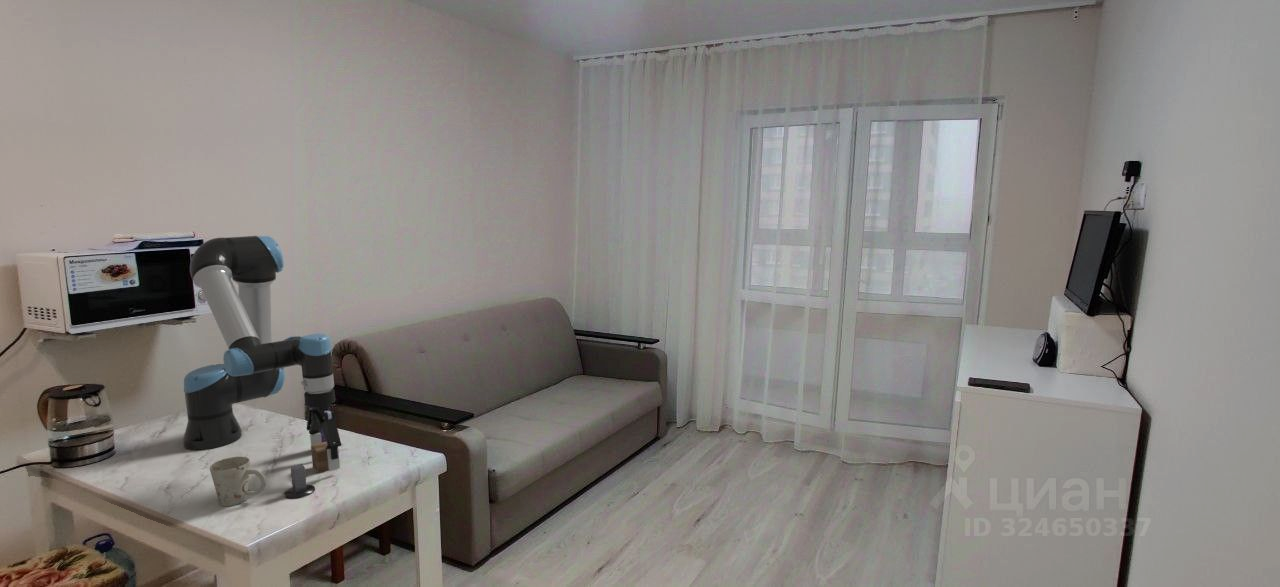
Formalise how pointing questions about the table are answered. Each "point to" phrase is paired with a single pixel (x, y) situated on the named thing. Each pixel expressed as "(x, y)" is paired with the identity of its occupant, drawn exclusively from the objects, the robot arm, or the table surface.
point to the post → (299, 483)
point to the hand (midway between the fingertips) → (325, 462)
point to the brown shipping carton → (319, 457)
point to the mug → (234, 480)
